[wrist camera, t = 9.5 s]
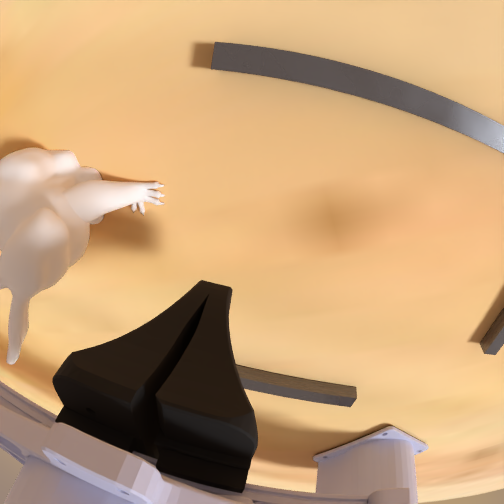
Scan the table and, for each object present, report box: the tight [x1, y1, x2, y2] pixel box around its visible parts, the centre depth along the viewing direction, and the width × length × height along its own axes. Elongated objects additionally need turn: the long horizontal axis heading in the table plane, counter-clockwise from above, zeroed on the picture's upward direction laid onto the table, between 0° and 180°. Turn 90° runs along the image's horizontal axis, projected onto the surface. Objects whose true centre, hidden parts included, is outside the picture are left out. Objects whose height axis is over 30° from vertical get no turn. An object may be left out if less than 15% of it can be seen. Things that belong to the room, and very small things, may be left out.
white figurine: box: [0, 147, 165, 365], centre depth 13 cm, size 12×8×10 cm, turn 68°
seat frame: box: [211, 42, 504, 407], centre depth 16 cm, size 20×21×1 cm
